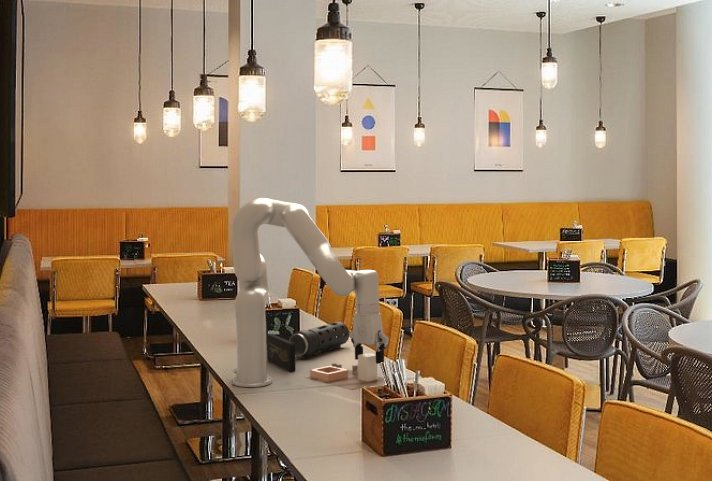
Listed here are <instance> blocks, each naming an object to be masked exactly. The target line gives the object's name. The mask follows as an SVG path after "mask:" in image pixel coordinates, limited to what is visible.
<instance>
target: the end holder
mask: <svg viewBox="0 0 712 481" xmlns="http://www.w3.org/2000/svg"><path fill="white" fill-rule="evenodd" d="M348 370H349V369H348ZM348 370H347V368H338V367H334V366H332V365H328V366H327V365H326V366H321V367H318V368H317V367H316V368H313V369H310V370H309V377H311V378H315V379H319V380H323V381H327V382H330V381H334V380H338V379H343V378H347V377H348Z"/></svg>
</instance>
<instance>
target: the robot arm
mask: <svg viewBox="0 0 712 481" xmlns="http://www.w3.org/2000/svg"><path fill="white" fill-rule="evenodd" d="M231 222H232V224H231V242H232V254H233V255H232V256H233V258H232V259H233V272H234V274H235V276H236V278H237V279H238V284H239V285H238V286H239V291H238V292H237V295H236V296H235V301H234V311H235V312H234V313H235V324H236V325H235V326H236V330H235V331H236V368H234V369H233V370H232V373H233V374H236V377H235V378H234V379H233V380H232V385H234V386H236V387H239V388H240V387H241V388H257V387H264V386H268V385H270V384H272V382H273V378H272V377H271V376H268V361H267V321H266V320H267V319H266V306H267V304H268V301H269V296H270V294H269V284H268V283H269V282H268V273H267V272H268V271H267V264H266V260H265V258H264V256H263V255H262V254H261V252H260V240H259V229H260V226H263V225H270V226H275V227H281V228H285V229H286V231H287V232H288V233H289V235H290V236H291V237H292V238H293V240H294V241H295V243H296V244H297V245H298V247H299V248H300V249H301V251H302V252H303V253H304V254H305V256H306V257H307V259H308V261H309V262H310V263H311V265H312V266H313V267H314V268H315V270H316V271H317V273H318V274H319V276H320V277H321V279H322V280H323V281H324V282H325V284H326V285H327V286H328V288H329V289H330V290H331V291H332V292H333V293H334V294H335V295H336V296H339V297H347V296H349V295H350V294H352V292H355V306H354V307H355V310H356V312H354V315H353V320H352V330H351V331H349V339H350V342H351V343H352V346H353V347H354V359H355V360H357V361H358V355H360V354H364V347H363V345H367V346H374V348H375V349H376V351H375V355H376V364H377V365H378V364H382V363H381V362H383V363H385V351H386V348H387V347H388V343H389V341H390V338H389V337H388V336H387V335H386V334H385V333H384V328H383V326H384V325H383V321H382V315H381V312H380V291H379V290H380V287H379V273H378V272H377V271H376V270H374V269H373V270H372V269H362V270H350V269H346V268H345V267H344V265H343V264H342V263H341V262H340V260H339V259H338V257H337V256H336V255H335V252H334V251H333V249H332V246H331V243H330V242H329V240H328V239H327V237H326V236H325V235H324V233H323V232H322V231H321V230H320V228H319V227H318V226H317V224H316V223H315V221H314V220H313V219H312V217H311V216H310V214H309V211H308V209H307V208H306V207H305V206H304V205H302V204H299V203H295V202H289V201H288V202H287V201H281V200H277V199H271V198H267V197H257V198H254V199H252V200H249V201H248V202H246V203H244V204H243V205H242V206H241V207H240V208H239V209H238V210H237V211H236V212H235V215H234V217H233V219H232V221H231Z"/></svg>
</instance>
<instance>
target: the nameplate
mask: <svg viewBox="0 0 712 481" xmlns="http://www.w3.org/2000/svg"><path fill="white" fill-rule="evenodd" d="M266 345H267V363H270V364H272V365H275V366H276V367H278V368H280V369H282V370H285V371H286V372H289V373H291V372H292V373H293V372H296V356H295V344H294V343H293V342H291V341H289V340H287V339H286V338H282V337H280V336H279V335H276V334H274V333H269V334H266Z"/></svg>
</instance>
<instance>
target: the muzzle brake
mask: <svg viewBox="0 0 712 481" xmlns="http://www.w3.org/2000/svg"><path fill="white" fill-rule="evenodd" d="M349 333H350V330H349V328H348V326H347V325H346V324H345V323H344V322H342V321H335V322H331V323H328V324H324V325H321V326H317V327H314V328H310V329H303V330H299V331H295V332H294V333H293V334H292V336H291V337H289V340H288V341H291V342H293V343H294V344H295V357H300V358H305V357H306V358H311V357H314V356H315V354H317V353H325V352H329V351H331V350H335V349H337V348H341V346H342V345H344V344H346V343H347V342H348V341H349V339H350V335H349Z"/></svg>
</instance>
